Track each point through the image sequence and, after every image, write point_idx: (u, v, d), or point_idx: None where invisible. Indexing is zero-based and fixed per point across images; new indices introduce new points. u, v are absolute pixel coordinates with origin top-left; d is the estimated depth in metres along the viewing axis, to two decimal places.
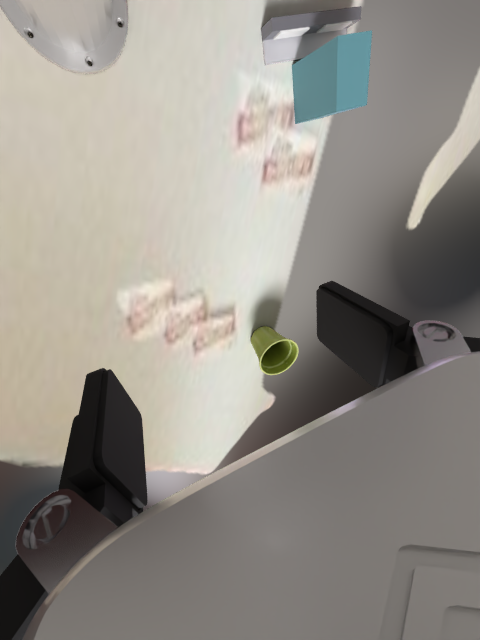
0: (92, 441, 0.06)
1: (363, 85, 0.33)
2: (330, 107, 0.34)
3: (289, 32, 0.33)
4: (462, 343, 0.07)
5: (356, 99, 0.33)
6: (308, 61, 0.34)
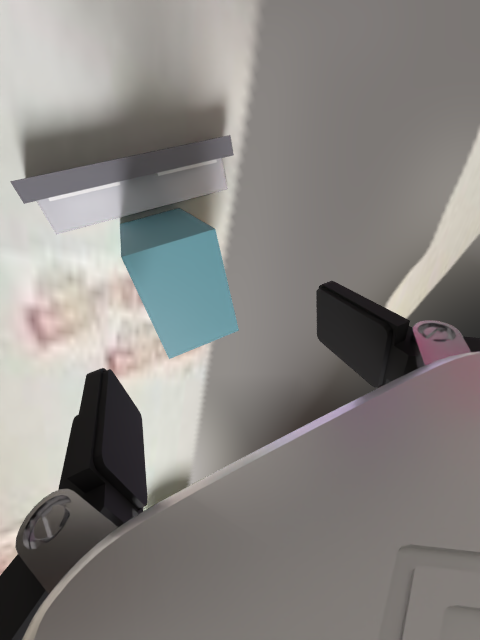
0: (92, 441, 0.06)
1: (221, 309, 0.16)
2: None
3: None
4: (462, 343, 0.07)
5: (211, 330, 0.17)
6: None
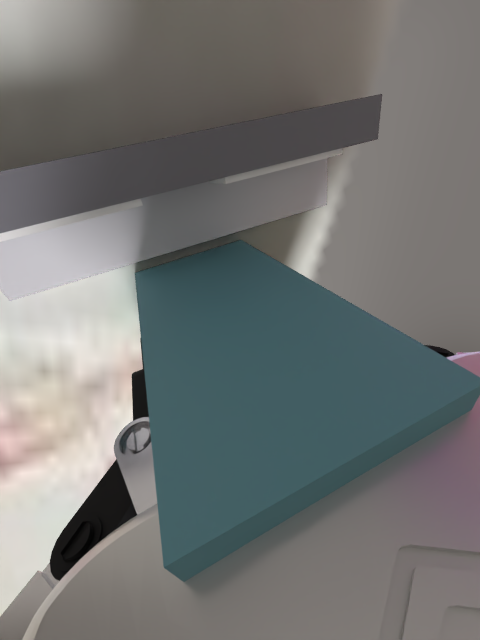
0: None
1: None
2: None
3: None
4: None
5: None
6: None
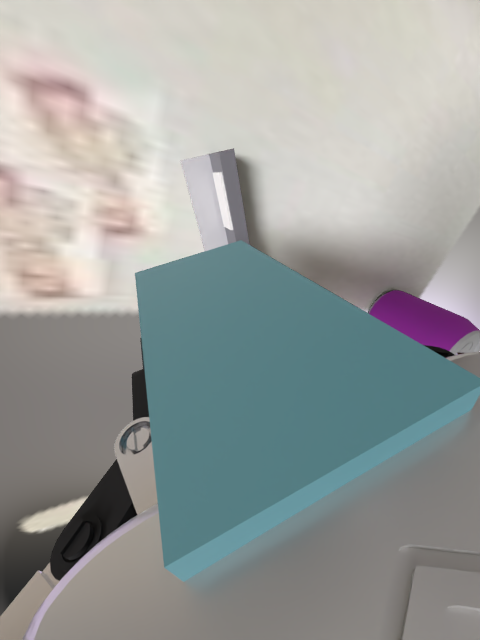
0: None
1: None
2: None
3: (222, 192, 0.20)
4: None
5: None
6: None
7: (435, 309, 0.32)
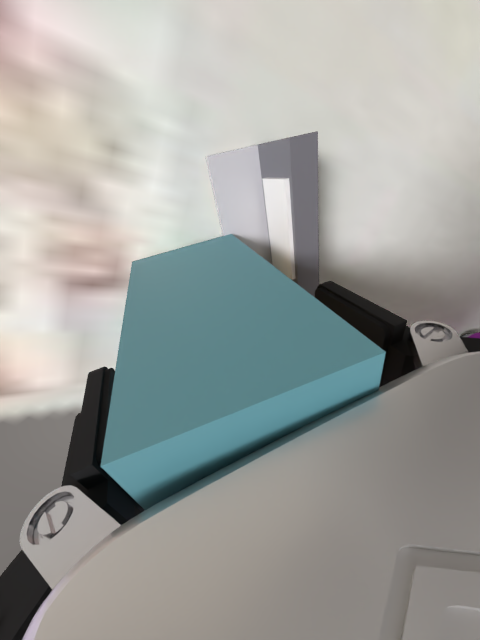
0: (95, 438, 0.07)
1: None
2: None
3: (284, 216, 0.11)
4: (459, 343, 0.07)
5: None
6: None
7: None
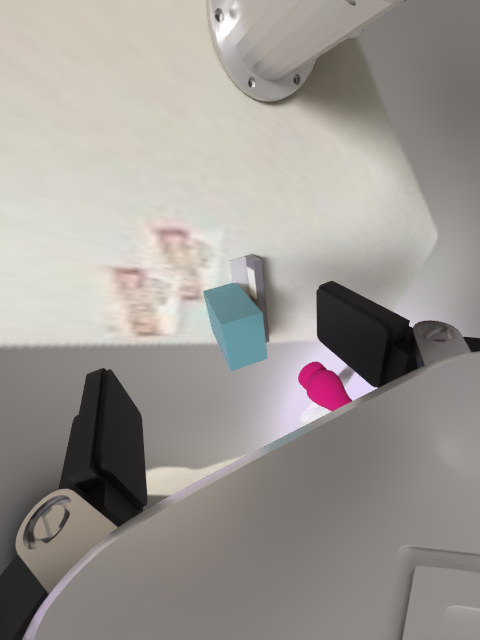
0: (92, 441, 0.06)
1: (260, 347, 0.31)
2: (227, 361, 0.32)
3: (253, 279, 0.35)
4: (462, 343, 0.07)
5: (253, 358, 0.32)
6: (210, 307, 0.33)
7: None
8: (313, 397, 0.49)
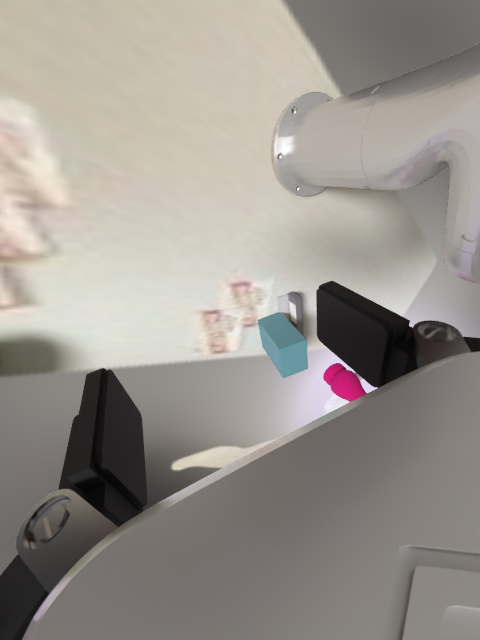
0: (92, 441, 0.06)
1: (303, 362, 0.45)
2: (280, 371, 0.46)
3: (294, 311, 0.49)
4: (462, 343, 0.07)
5: (298, 368, 0.46)
6: (266, 333, 0.47)
7: None
8: (336, 392, 0.63)
